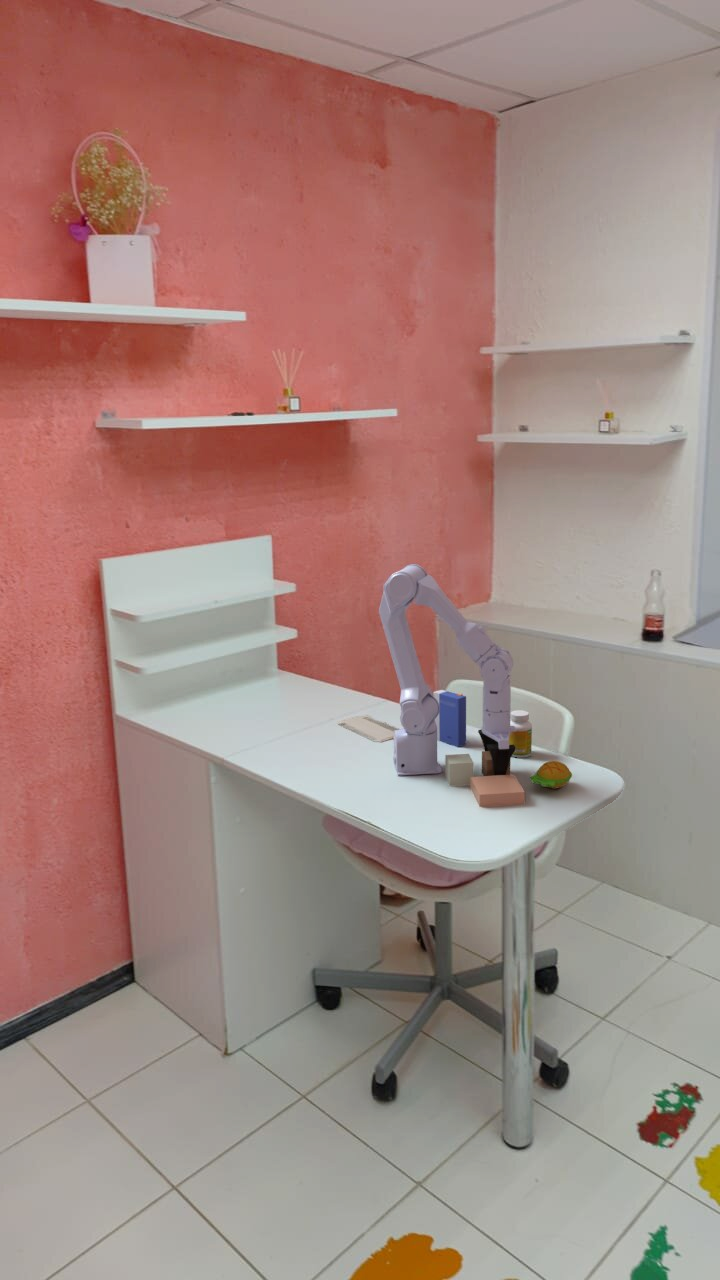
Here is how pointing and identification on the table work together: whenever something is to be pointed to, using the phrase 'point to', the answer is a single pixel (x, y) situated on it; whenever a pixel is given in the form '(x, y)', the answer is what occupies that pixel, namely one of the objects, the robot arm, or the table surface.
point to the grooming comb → (369, 728)
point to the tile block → (497, 790)
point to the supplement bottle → (521, 734)
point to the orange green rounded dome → (552, 775)
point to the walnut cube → (489, 765)
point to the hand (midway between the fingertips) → (496, 769)
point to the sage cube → (459, 769)
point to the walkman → (451, 718)
